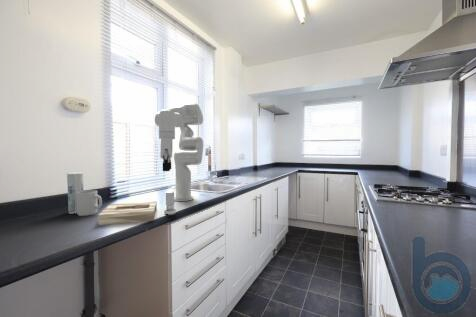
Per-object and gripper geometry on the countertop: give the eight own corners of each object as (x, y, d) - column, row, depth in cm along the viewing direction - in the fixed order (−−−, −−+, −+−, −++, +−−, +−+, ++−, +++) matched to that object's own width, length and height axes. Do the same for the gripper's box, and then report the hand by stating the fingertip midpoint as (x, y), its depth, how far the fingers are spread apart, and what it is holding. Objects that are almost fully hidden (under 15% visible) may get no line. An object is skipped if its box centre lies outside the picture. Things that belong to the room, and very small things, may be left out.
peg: (164, 212, 111) (164, 191, 110) (175, 211, 112) (175, 190, 112) (164, 215, 105) (163, 193, 105) (176, 214, 107) (175, 192, 106)
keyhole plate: (110, 213, 109) (109, 204, 108) (156, 209, 115) (156, 201, 115) (98, 225, 92) (98, 214, 91) (153, 220, 98) (153, 210, 98)
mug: (72, 215, 105) (72, 193, 104) (87, 210, 113) (86, 189, 112) (94, 216, 103) (94, 193, 102) (108, 211, 111) (107, 190, 111)
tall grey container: (66, 212, 109) (64, 173, 109) (81, 209, 115) (79, 172, 114) (71, 214, 106) (70, 174, 105) (86, 211, 111) (85, 172, 110)
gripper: (161, 136, 114) (161, 169, 115) (156, 134, 97) (156, 172, 98) (175, 137, 116) (175, 168, 116) (174, 134, 99) (174, 171, 100)
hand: (167, 170), depth 107 cm, fingers open, 9 cm apart
